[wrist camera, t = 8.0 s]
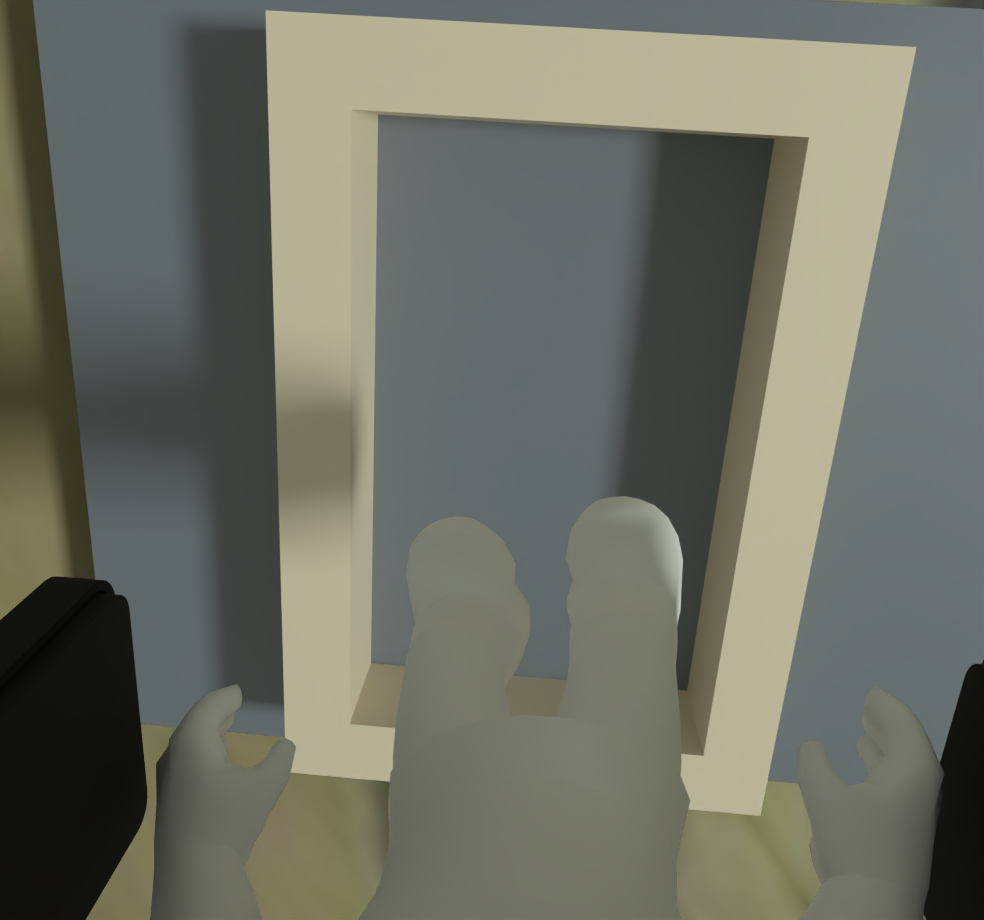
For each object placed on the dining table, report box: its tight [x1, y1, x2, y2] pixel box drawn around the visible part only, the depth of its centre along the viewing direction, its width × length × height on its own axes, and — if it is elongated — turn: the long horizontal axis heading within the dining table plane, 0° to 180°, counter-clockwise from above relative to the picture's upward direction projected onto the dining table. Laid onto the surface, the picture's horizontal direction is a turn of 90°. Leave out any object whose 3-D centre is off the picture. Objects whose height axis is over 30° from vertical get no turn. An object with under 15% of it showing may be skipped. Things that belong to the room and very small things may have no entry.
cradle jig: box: [33, 0, 984, 816], centre depth 19 cm, size 22×18×4 cm
